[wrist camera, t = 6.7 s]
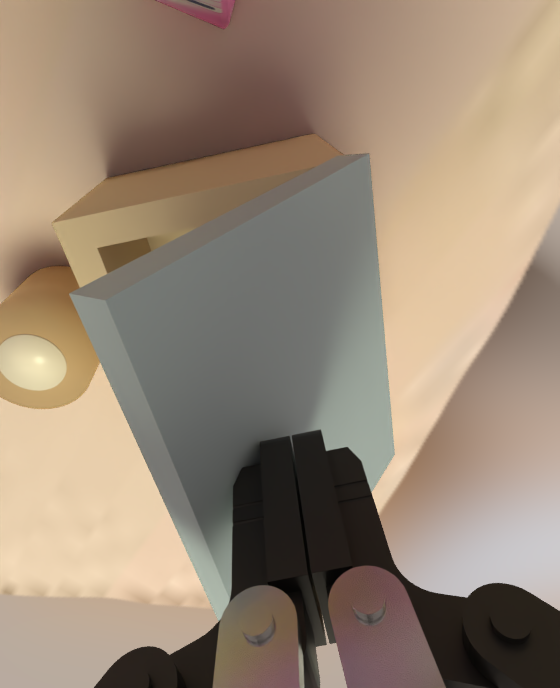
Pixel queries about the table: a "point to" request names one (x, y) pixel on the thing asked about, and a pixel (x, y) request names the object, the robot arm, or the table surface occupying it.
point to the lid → (249, 347)
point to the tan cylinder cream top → (44, 342)
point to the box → (174, 201)
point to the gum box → (205, 10)
